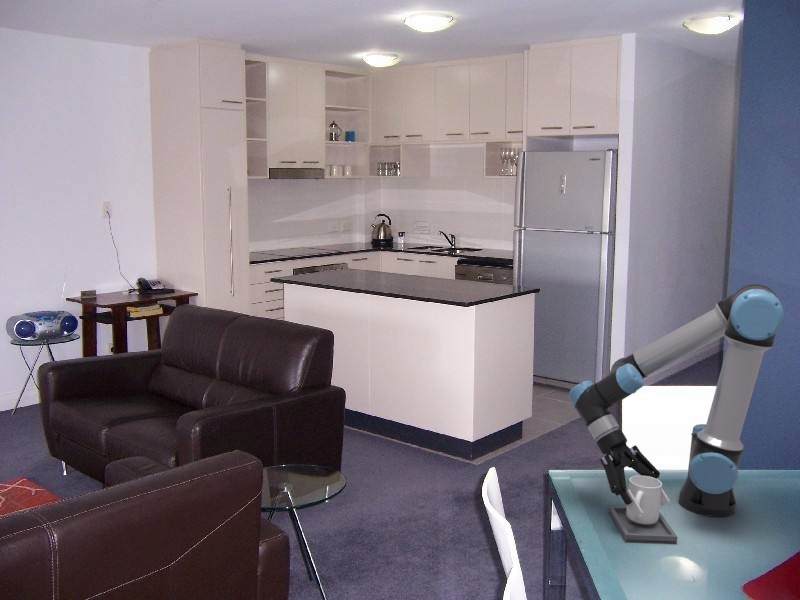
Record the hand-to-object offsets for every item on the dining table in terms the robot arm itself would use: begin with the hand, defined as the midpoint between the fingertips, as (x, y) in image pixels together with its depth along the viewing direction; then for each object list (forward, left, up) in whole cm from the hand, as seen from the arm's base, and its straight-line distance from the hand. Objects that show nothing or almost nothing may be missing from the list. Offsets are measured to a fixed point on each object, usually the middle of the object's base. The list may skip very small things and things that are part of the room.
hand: (652, 509), depth 210 cm
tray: (+2, -2, -6) cm, 7 cm away
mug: (+2, -2, -5) cm, 6 cm away
